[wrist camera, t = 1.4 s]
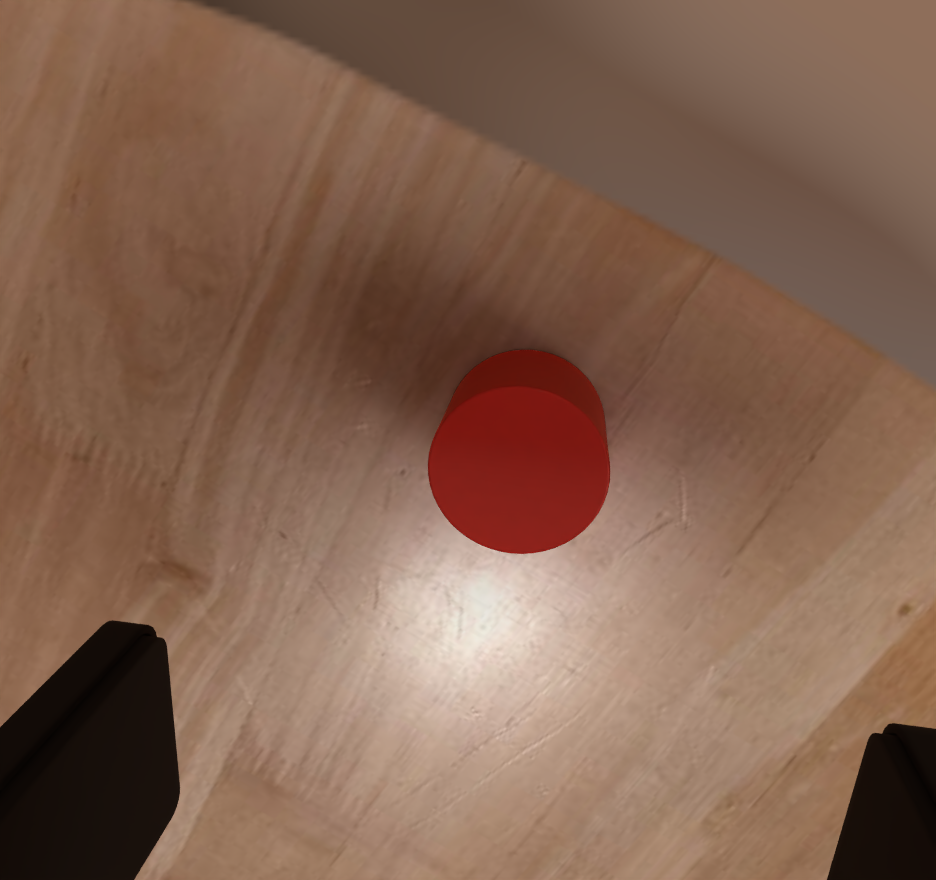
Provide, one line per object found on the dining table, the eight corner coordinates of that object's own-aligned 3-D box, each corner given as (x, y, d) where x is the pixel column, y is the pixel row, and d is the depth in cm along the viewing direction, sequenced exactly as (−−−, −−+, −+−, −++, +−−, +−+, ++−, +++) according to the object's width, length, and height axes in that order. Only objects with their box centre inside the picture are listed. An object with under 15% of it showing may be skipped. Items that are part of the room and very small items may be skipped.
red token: (451, 342, 22) (431, 377, 19) (613, 355, 21) (621, 394, 18) (445, 488, 23) (424, 545, 20) (595, 503, 23) (599, 563, 20)
